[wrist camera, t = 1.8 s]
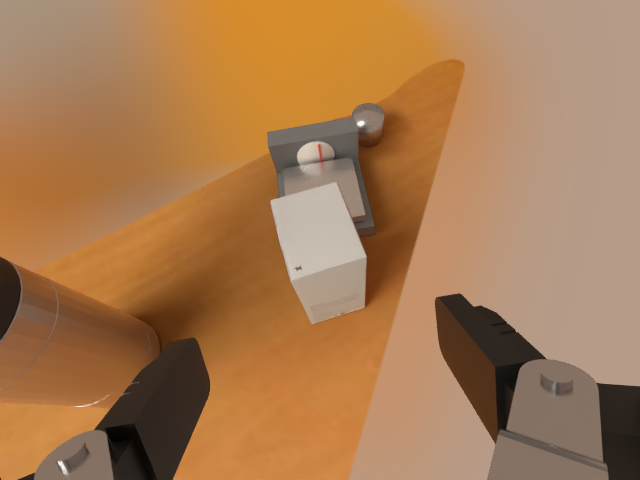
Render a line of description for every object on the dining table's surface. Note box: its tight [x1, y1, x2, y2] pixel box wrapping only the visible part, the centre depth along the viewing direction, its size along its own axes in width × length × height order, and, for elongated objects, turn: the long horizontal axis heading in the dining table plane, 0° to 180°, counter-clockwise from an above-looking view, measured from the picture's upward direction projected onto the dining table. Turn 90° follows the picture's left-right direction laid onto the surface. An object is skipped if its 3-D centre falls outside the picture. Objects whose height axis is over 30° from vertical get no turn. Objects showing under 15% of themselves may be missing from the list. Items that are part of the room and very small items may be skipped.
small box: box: [271, 182, 367, 324], centre depth 32 cm, size 8×6×13 cm
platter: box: [283, 157, 365, 222], centre depth 41 cm, size 9×9×1 cm
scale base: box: [267, 117, 375, 237], centre depth 41 cm, size 11×13×7 cm
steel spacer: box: [352, 103, 385, 147], centre depth 47 cm, size 4×4×4 cm
